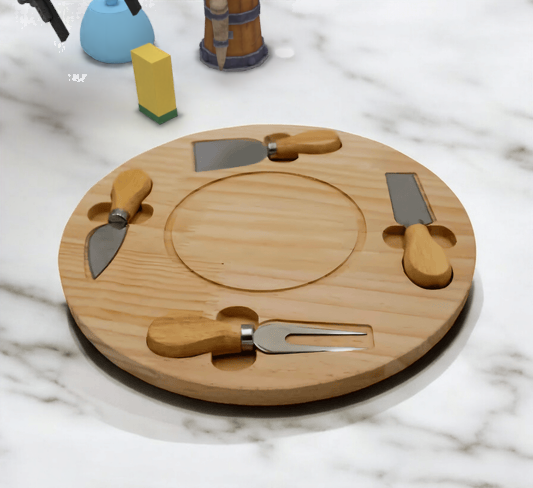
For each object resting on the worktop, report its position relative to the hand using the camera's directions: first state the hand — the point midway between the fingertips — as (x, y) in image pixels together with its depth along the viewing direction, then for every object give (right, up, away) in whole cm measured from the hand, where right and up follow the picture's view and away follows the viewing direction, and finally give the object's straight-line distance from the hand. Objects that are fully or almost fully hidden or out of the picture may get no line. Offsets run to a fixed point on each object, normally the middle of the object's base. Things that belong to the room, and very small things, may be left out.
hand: (102, 25), depth 104 cm
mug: (+19, +2, +28) cm, 34 cm away
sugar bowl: (-4, +5, +31) cm, 32 cm away
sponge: (+7, -11, +14) cm, 19 cm away
